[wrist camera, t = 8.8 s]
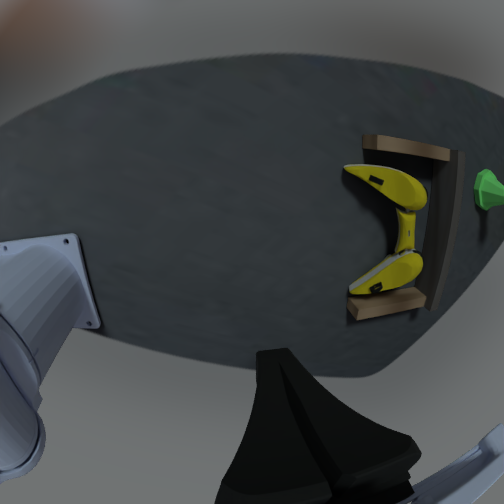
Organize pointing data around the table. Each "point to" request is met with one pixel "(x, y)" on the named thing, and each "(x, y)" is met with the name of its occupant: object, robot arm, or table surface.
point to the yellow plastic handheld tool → (405, 257)
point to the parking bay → (437, 232)
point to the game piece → (488, 190)
